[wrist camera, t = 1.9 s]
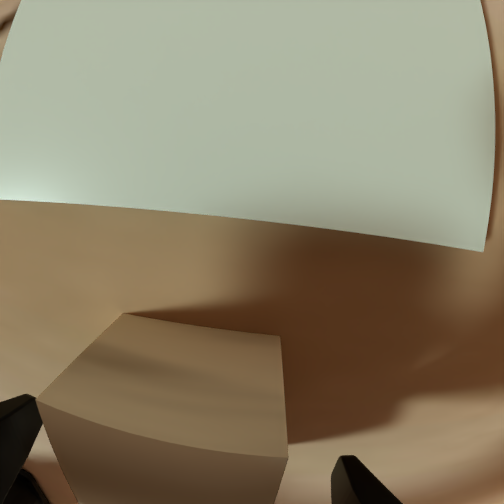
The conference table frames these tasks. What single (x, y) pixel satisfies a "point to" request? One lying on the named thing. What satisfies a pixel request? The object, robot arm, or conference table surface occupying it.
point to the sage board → (256, 111)
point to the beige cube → (170, 416)
